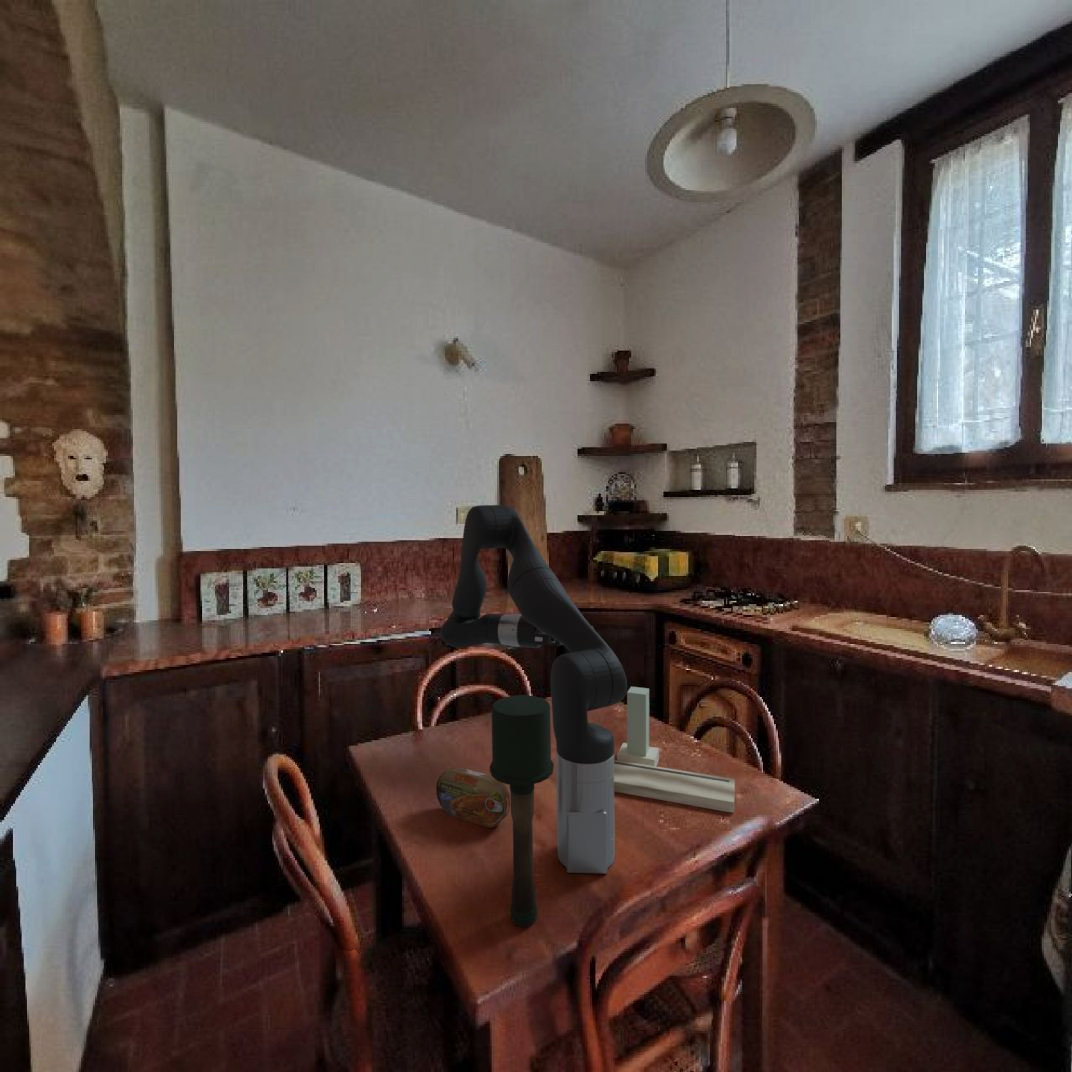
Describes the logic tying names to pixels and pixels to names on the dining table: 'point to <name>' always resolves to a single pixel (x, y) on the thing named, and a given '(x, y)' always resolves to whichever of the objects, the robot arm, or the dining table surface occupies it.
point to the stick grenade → (522, 784)
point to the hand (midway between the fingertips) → (588, 635)
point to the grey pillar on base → (638, 730)
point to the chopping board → (675, 785)
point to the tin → (473, 796)
